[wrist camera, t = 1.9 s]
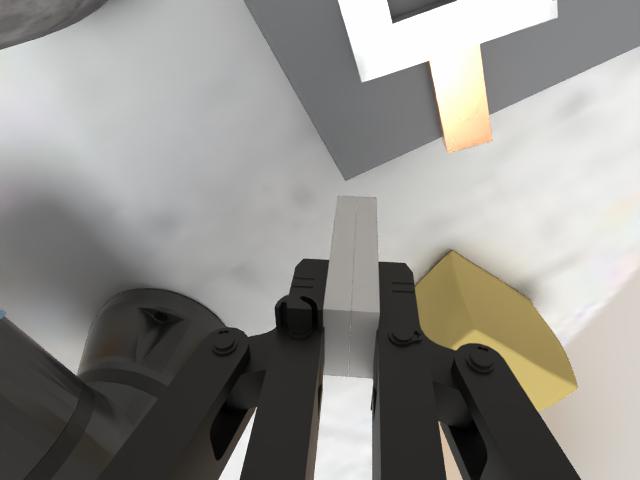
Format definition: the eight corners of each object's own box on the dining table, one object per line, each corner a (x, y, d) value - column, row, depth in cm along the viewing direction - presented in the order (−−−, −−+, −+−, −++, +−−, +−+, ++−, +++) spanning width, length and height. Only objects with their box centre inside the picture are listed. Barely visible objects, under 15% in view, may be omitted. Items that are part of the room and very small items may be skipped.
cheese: (460, 358, 44) (481, 449, 36) (377, 311, 42) (379, 398, 34) (539, 298, 39) (585, 389, 31) (450, 241, 36) (474, 324, 28)
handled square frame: (304, -135, 22) (297, -145, 20) (526, -244, 19) (545, -267, 17) (385, 155, 31) (386, 169, 29) (547, 109, 28) (562, 121, 26)
